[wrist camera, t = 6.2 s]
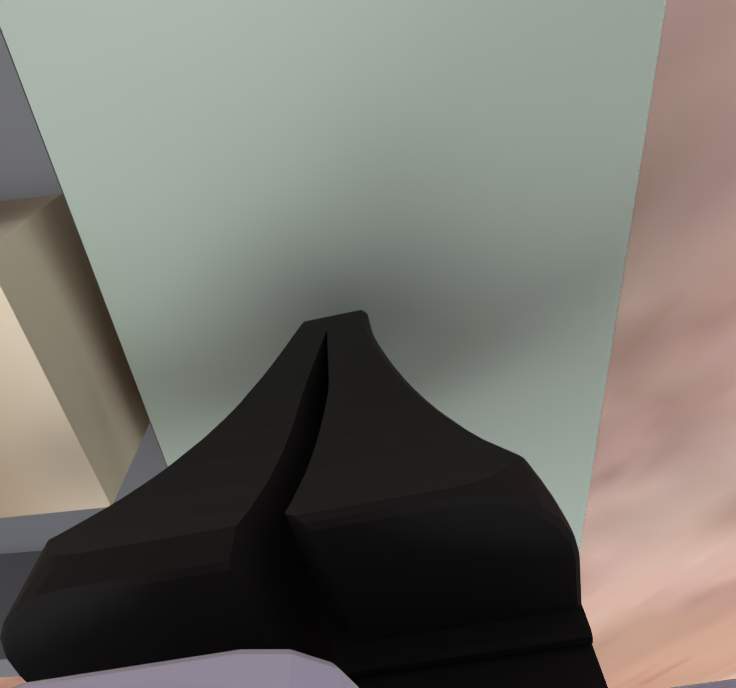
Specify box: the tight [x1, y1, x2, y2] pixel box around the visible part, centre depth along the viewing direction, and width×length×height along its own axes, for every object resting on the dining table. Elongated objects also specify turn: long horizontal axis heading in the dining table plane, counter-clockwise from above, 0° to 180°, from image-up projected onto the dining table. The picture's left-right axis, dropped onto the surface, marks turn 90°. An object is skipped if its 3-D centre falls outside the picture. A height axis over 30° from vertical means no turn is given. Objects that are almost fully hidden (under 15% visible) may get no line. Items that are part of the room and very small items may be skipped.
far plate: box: [0, 0, 667, 548], centre depth 13 cm, size 11×16×2 cm
